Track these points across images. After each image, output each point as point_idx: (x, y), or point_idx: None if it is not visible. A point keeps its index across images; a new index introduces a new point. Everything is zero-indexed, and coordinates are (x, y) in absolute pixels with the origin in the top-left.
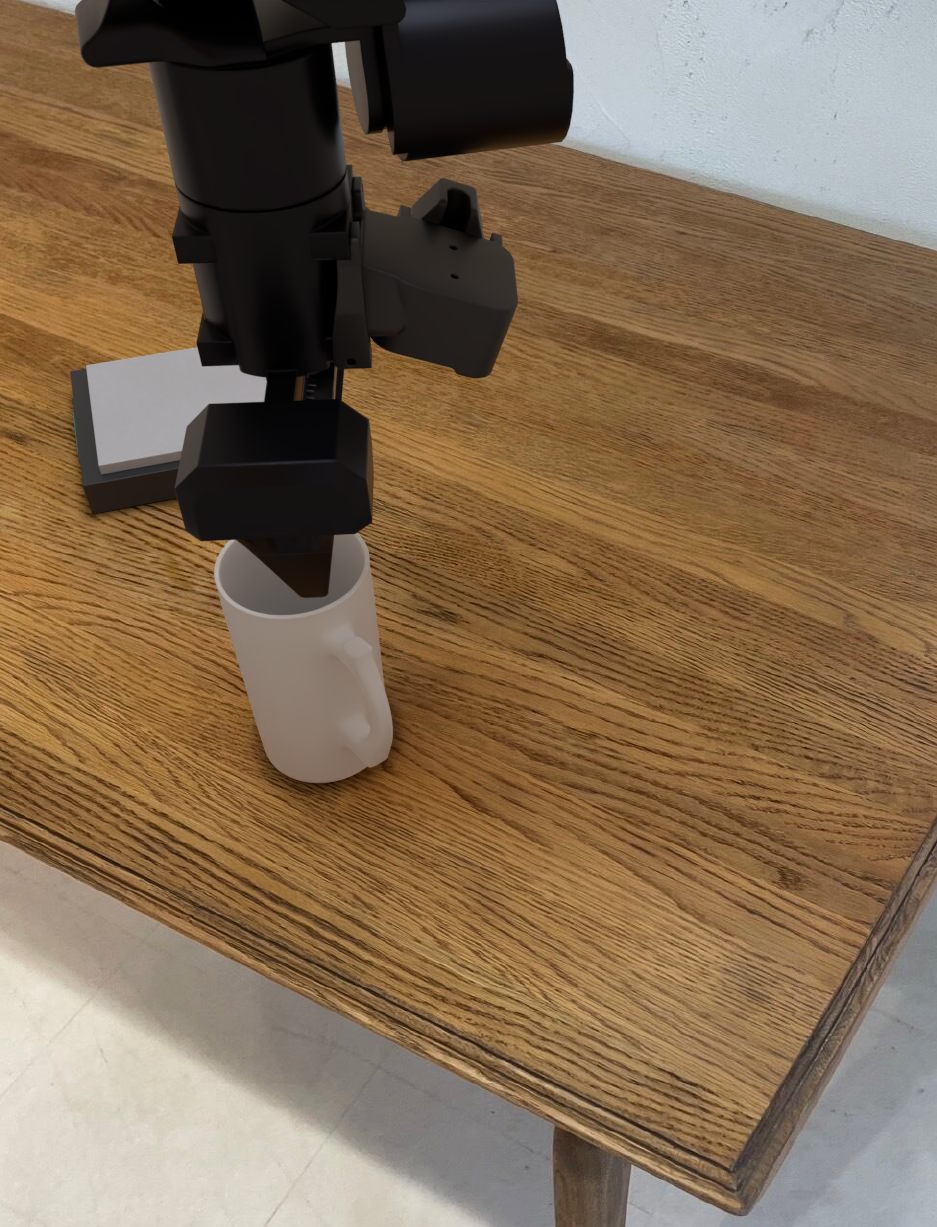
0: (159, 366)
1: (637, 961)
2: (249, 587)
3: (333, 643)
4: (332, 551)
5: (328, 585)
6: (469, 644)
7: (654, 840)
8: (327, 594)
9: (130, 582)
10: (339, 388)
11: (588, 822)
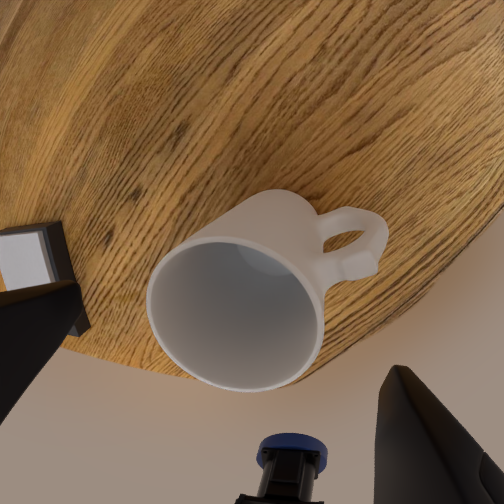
0: (11, 287)
1: (494, 90)
2: (206, 325)
3: (333, 284)
4: (482, 450)
5: (423, 383)
6: (211, 117)
7: (420, 41)
8: (409, 368)
9: (133, 320)
10: None
11: (399, 73)
